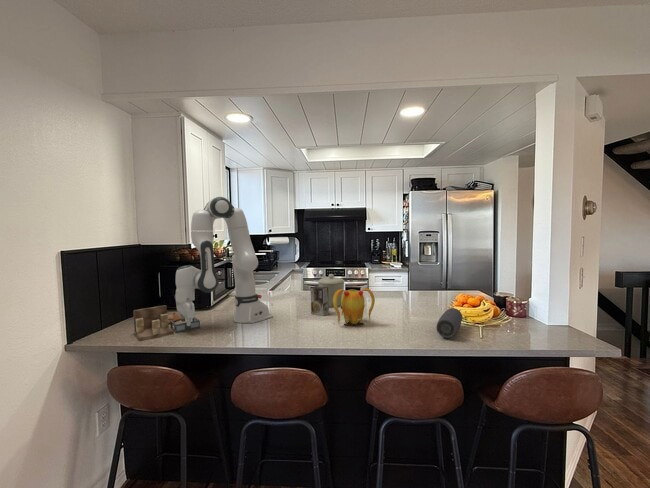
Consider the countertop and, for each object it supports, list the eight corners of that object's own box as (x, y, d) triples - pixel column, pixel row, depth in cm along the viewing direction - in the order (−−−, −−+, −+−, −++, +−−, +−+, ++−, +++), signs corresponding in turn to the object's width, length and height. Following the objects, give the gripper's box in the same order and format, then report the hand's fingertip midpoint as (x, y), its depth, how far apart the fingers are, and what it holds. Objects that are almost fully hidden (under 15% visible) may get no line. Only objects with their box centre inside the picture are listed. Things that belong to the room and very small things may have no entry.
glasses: (193, 323, 173) (193, 316, 173) (200, 327, 166) (199, 320, 165) (170, 328, 166) (170, 320, 165) (175, 333, 158) (175, 325, 158)
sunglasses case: (162, 327, 166) (156, 316, 167) (153, 333, 168) (148, 322, 169) (186, 318, 184) (180, 308, 184) (177, 323, 185) (172, 313, 186)
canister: (315, 308, 200) (314, 276, 198) (320, 301, 217) (320, 271, 216) (343, 309, 197) (343, 276, 195) (346, 302, 214) (346, 272, 213)
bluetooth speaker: (444, 324, 163) (444, 305, 162) (463, 327, 158) (463, 308, 158) (434, 338, 143) (434, 317, 143) (456, 342, 139) (456, 320, 138)
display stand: (166, 327, 167) (165, 305, 167) (173, 333, 157) (172, 310, 156) (134, 333, 158) (133, 310, 157) (139, 341, 147) (138, 316, 146)
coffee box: (329, 313, 188) (328, 286, 187) (323, 316, 183) (322, 288, 182) (316, 311, 193) (316, 285, 192) (310, 314, 188) (310, 287, 187)
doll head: (369, 318, 176) (369, 284, 175) (376, 327, 161) (376, 289, 160) (331, 320, 174) (330, 285, 173) (334, 328, 159) (333, 291, 158)
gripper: (198, 299, 155) (198, 327, 156) (186, 293, 171) (186, 318, 172) (184, 301, 151) (185, 329, 152) (173, 294, 167) (174, 320, 168)
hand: (185, 323), depth 162 cm, fingers open, 8 cm apart
